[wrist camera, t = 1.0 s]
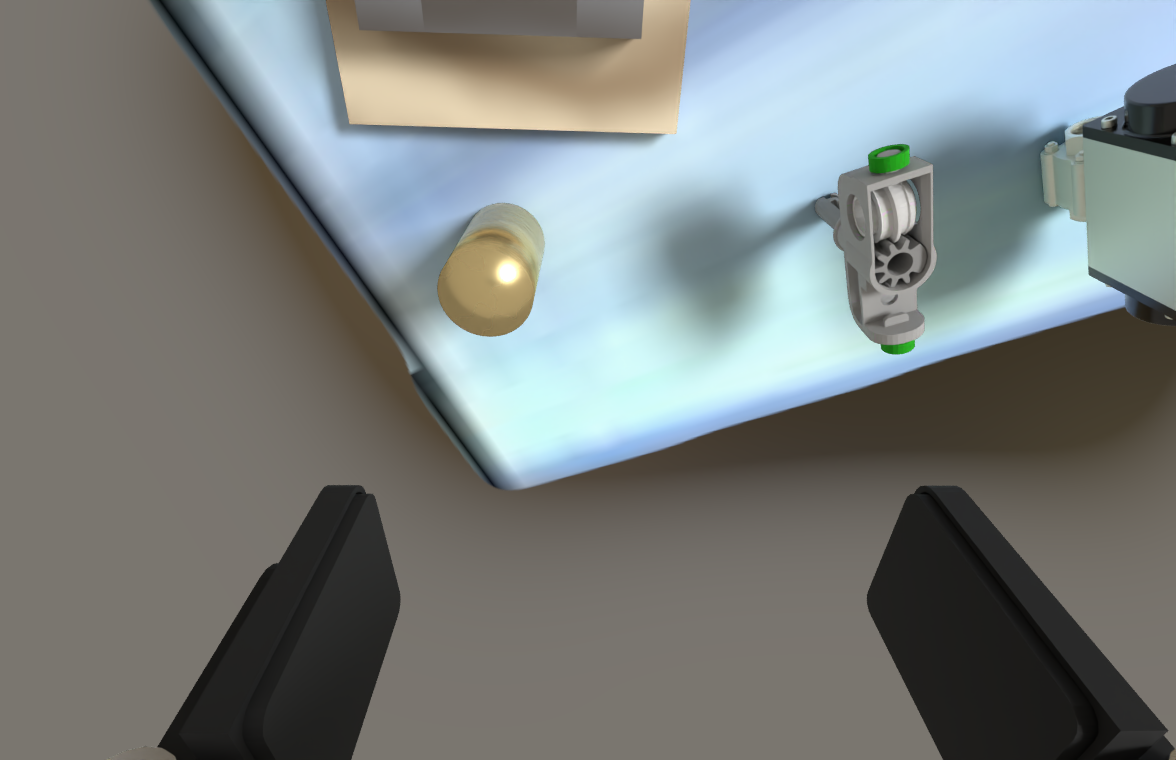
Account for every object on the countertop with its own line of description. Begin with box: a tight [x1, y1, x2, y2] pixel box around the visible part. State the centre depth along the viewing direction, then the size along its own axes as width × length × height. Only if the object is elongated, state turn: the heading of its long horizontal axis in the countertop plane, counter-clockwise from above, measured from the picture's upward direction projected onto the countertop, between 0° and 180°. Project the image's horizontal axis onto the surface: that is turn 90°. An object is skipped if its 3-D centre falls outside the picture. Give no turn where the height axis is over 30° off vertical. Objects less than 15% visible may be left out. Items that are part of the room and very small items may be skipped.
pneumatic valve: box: [1040, 64, 1176, 326], centre depth 28 cm, size 6×12×12 cm, turn 28°
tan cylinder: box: [437, 203, 545, 337], centre depth 32 cm, size 5×5×8 cm
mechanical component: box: [815, 144, 937, 354], centre depth 30 cm, size 3×10×10 cm, turn 19°
